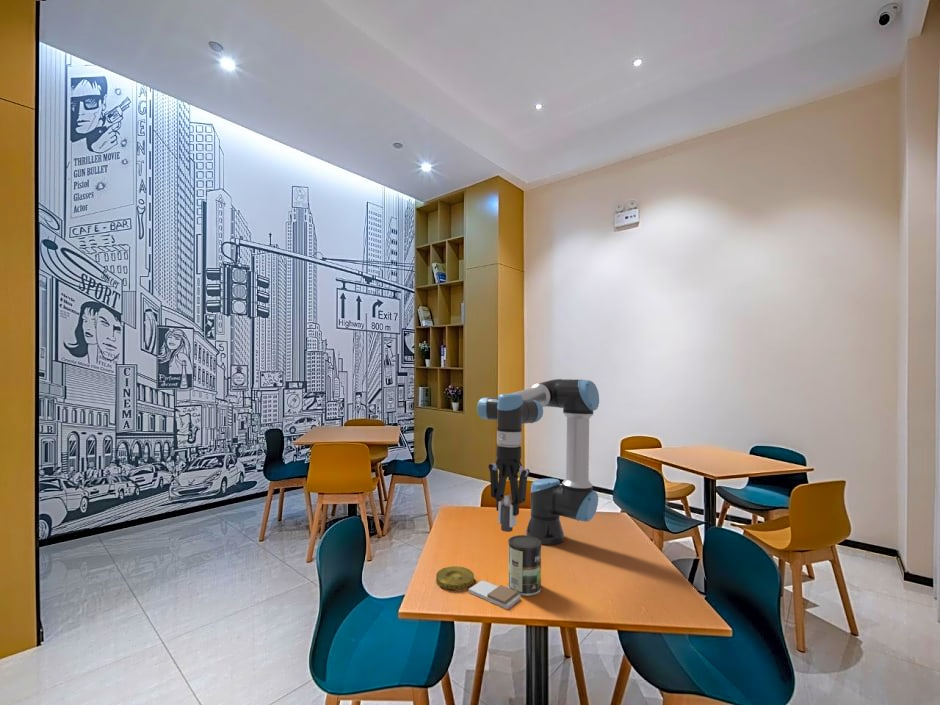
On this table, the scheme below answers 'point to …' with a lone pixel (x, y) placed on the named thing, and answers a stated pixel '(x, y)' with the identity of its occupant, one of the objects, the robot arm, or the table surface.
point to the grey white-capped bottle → (506, 514)
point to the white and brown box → (495, 594)
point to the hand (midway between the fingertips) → (507, 524)
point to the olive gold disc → (455, 578)
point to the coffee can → (524, 565)
